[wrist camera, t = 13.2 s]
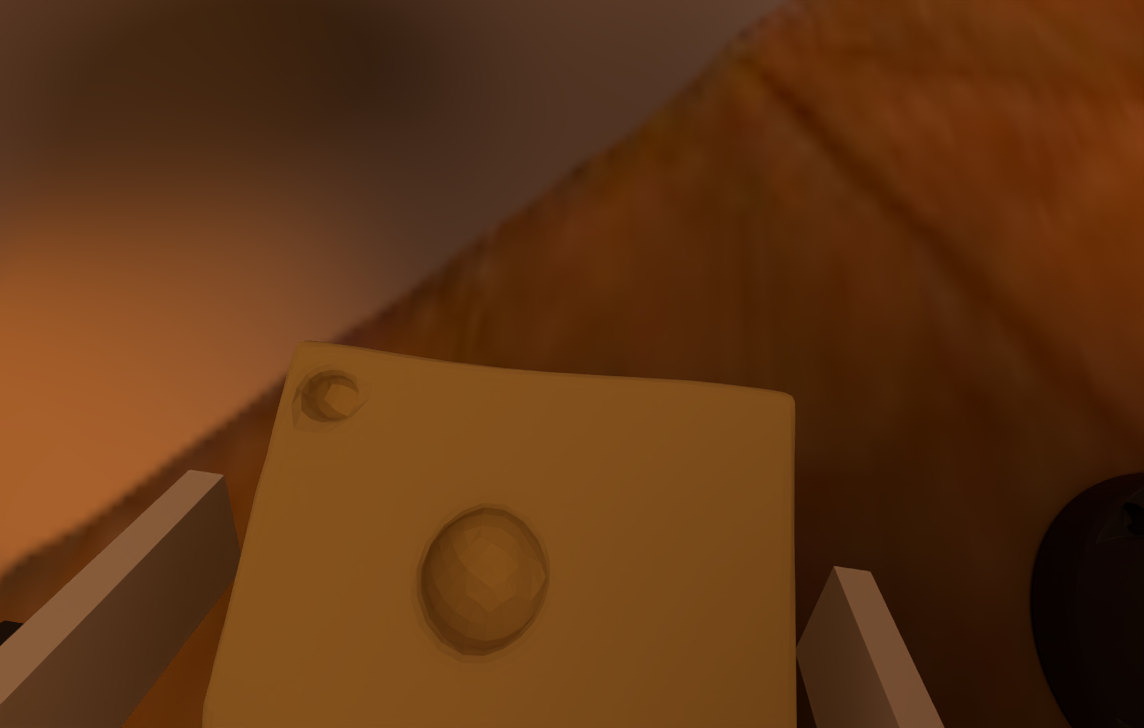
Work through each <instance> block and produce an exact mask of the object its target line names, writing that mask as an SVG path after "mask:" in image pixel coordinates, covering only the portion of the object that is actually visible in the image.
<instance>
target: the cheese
mask: <svg viewBox="0 0 1144 728" xmlns="http://www.w3.org/2000/svg"><path fill="white" fill-rule="evenodd" d="M794 460H795V401H794V399H793V397H792V396H791V395H789V394H787V393H785V392H780V391H774V390H767V389H759V388H752V387H744V386H737V385H729V384H721V383H711V382H700V381H690V380H673V379H657V378H638V377H620V376H601V375H586V374H571V373H556V372H543V371H531V370H520V369H508V368H499V367H490V366H482V365H474V364H466V363H458V362H449V361H443V360H436V359H430V358H423V357H417V356H410V355H404V354H397V353H391V352H385V351H379V350H373V349H367V348H361V347H353V346H346V345H339V344H332V343H326V342H319V341H304V342H299V343H298V345H297V347H296V349H295V351H294V354H293V357H292V360H291V363H290V366H289V370H288V374H287V377H286V381H285V385H284V389H283V393H282V397H281V401H280V405H279V408H278V412H277V416H276V420H275V423H274V427H273V431H272V436H271V440H270V444H269V449H268V453H267V457H266V460H265V463H264V466H263V470H262V473H261V476H260V480H259V483H258V486H257V490H256V494H255V498H254V502H253V506H252V511H251V515H250V519H249V523H248V527H247V532H246V536H245V540H244V544H243V549H242V553H241V557H240V561H239V566H238V570H237V574H236V578H235V582H234V586H233V590H232V595H231V599H230V603H229V607H228V611H227V615H226V619H225V623H224V627H223V630H222V634H221V638H220V642H219V645H218V649H217V653H216V657H215V660H214V665H213V669H212V674H211V679H210V683H209V687H208V691H207V694H206V698H205V702H204V708H203V721H202V728H797V718H796V626H795V548H794Z"/></svg>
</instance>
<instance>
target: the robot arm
mask: <svg viewBox="0 0 1144 728" xmlns="http://www.w3.org/2000/svg"><path fill="white" fill-rule="evenodd" d="M240 557H241V552H240V548H239V543H238V538H237V534H236V529H235V524H234V519H233V515H232V510H231V505H230V501H229V496H228V491H227V486H226V482H225V477H224V475H220V474H214V473H207V472H200V471H194V470H189V471H188V472H187V473H185V474H184V475H183V476H182V477H181V478H180V479H179V480H178V481H177V482H176V483H175V484H174V485H173V486H172V487H170V488H169V489H168V490H167V491H166V492H165V493H164V494H163V495H162V496H161V497H160V498H159V499H158V500H157V501H155V502H154V503H153V504H152V505H151V506H150V507H149V508H148V509H147V510H146V511H145V512H144V513H143V514H142V515H140V516H139V517H138V518H137V519H136V520H135V521H134V522H133V523H132V524H131V525H130V526H129V527H128V528H126V529H125V530H124V531H123V532H122V533H121V534H120V535H119V536H118V537H117V538H116V539H115V540H114V541H113V542H111V543H110V544H109V545H108V546H107V547H106V548H105V549H104V550H103V551H102V552H101V553H100V554H99V555H98V556H96V557H95V558H94V559H93V560H92V561H91V562H90V563H89V564H88V565H87V566H86V567H85V568H84V569H83V570H81V571H80V572H79V573H78V574H77V575H76V576H75V577H74V578H73V579H72V580H71V581H70V582H69V583H67V584H66V585H65V586H64V587H63V588H62V589H61V590H60V591H59V592H58V593H57V594H56V595H55V596H54V597H52V598H51V599H50V600H49V601H48V602H47V603H46V604H45V605H44V606H43V607H42V608H41V609H40V610H39V611H37V612H36V613H35V614H34V615H33V616H32V617H31V618H30V619H29V620H28V621H27V622H26V623H25V624H23V623H17V622H10V621H3V622H1V623H0V728H121V726H122V725H123V724H124V723H125V721H126V720H127V719H128V717H129V716H130V715H131V713H132V712H133V711H134V709H135V708H136V707H137V705H138V704H139V703H140V702H141V700H142V699H143V698H144V696H145V695H146V694H147V692H148V691H149V690H150V688H151V687H152V686H153V684H154V683H155V682H156V680H157V679H158V678H159V677H160V675H161V674H162V673H163V671H164V670H165V669H166V667H167V666H168V665H169V663H170V662H171V661H172V659H173V658H174V657H175V656H176V654H177V653H178V652H179V650H180V649H181V648H182V646H183V645H184V644H185V642H186V641H187V640H188V638H189V637H190V636H191V635H192V633H193V632H194V631H195V629H196V628H197V627H198V625H199V624H200V623H201V621H202V620H203V619H204V617H205V616H206V615H207V613H208V612H209V611H210V610H211V608H212V607H213V606H214V604H215V603H216V602H217V600H218V599H219V598H220V596H221V595H222V594H223V592H224V591H225V590H226V589H227V587H228V586H229V585H230V583H231V582H232V581H233V579H234V578H235V577H236V574H237V570H238V566H239V561H240ZM1033 613H1034V623H1035V631H1036V636H1037V642H1038V646H1039V650H1040V654H1041V658H1042V661H1043V664H1044V667H1045V670H1046V673H1047V676H1048V678H1049V681H1050V683H1051V686H1052V688H1053V690H1054V692H1055V694H1056V697H1057V699H1058V701H1059V703H1060V705H1061V706H1062V708H1063V710H1064V712H1065V714H1066V716H1067V717H1068V719H1069V720H1070V722H1071V724H1072V725H1073V727H1074V728H1144V473H1136V474H1129V475H1124V476H1120V477H1116V478H1113V479H1110V480H1107V481H1105V482H1102V483H1100V484H1098V485H1096V486H1094V487H1092V488H1090V489H1089V490H1087V491H1086V492H1084V493H1083V494H1081V495H1080V496H1079V497H1077V498H1076V499H1075V500H1074V501H1073V502H1072V503H1071V504H1070V505H1069V506H1068V507H1067V508H1066V509H1065V510H1064V511H1063V512H1062V513H1061V515H1060V516H1059V517H1058V518H1057V520H1056V521H1055V523H1054V524H1053V526H1052V528H1051V529H1050V531H1049V533H1048V535H1047V537H1046V539H1045V542H1044V544H1043V546H1042V549H1041V552H1040V555H1039V559H1038V563H1037V567H1036V572H1035V578H1034V588H1033ZM796 656H797V659H798V663H799V666H800V670H801V673H802V677H803V680H804V684H805V687H806V691H807V694H808V698H809V701H810V705H811V709H812V712H813V716H814V719H815V723H816V726H817V728H944V726H943V724H942V722H941V720H940V717H939V715H938V713H937V711H936V709H935V707H934V705H933V703H932V701H931V698H930V696H929V694H928V692H927V690H926V688H925V686H924V684H923V682H922V679H921V677H920V675H919V673H918V671H917V669H916V667H915V665H914V663H913V661H912V658H911V656H910V654H909V652H908V650H907V648H906V646H905V644H904V642H903V639H902V637H901V635H900V633H899V631H898V629H897V627H896V625H895V623H894V620H893V618H892V616H891V614H890V612H889V610H888V608H887V606H886V604H885V602H884V599H883V597H882V595H881V593H880V591H879V589H878V587H877V585H876V583H875V580H874V578H873V576H872V574H871V572H870V571H863V570H857V569H850V568H843V567H836V566H834V567H833V569H832V571H831V573H830V576H829V578H828V580H827V582H826V584H825V586H824V589H823V591H822V593H821V595H820V597H819V600H818V602H817V604H816V606H815V608H814V610H813V613H812V615H811V617H810V619H809V621H808V623H807V626H806V628H805V630H804V632H803V634H802V637H801V639H800V641H799V643H798V645H797V647H796Z"/></svg>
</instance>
